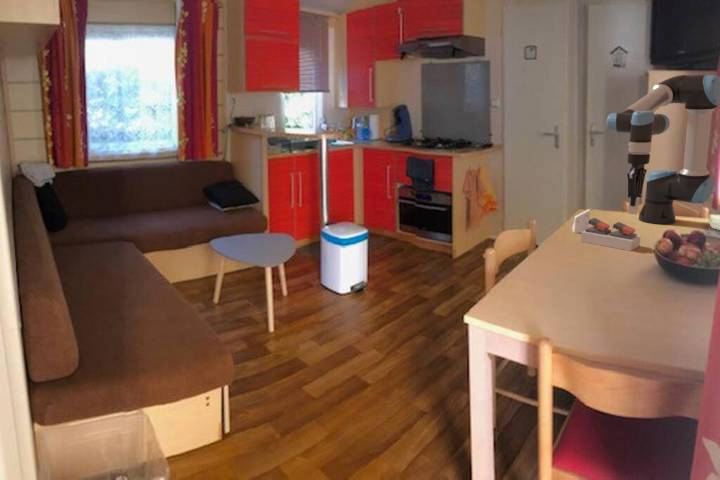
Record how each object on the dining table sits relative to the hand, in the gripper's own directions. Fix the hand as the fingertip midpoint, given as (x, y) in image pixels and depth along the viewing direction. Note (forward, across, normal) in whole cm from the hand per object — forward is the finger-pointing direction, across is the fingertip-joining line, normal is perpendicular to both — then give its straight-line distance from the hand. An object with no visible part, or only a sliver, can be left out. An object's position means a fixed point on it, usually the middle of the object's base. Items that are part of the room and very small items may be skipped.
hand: (632, 213), depth 234 cm
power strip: (+13, +1, -8) cm, 15 cm away
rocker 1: (+8, 0, -13) cm, 15 cm away
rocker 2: (+8, 0, -3) cm, 8 cm away
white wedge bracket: (+14, -10, -25) cm, 30 cm away
